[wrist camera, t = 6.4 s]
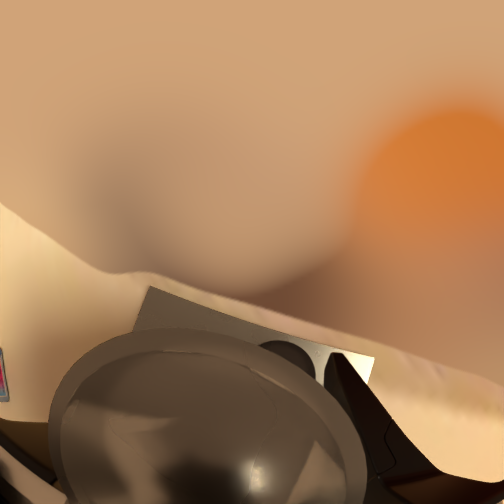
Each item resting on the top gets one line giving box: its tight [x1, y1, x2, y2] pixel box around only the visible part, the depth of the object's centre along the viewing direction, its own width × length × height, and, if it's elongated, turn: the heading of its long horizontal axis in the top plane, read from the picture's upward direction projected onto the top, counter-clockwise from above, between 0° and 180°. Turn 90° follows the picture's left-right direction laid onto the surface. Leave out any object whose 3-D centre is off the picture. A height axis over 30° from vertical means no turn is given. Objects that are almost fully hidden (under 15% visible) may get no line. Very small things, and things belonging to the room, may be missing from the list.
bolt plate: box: [133, 286, 375, 386], centre depth 13 cm, size 14×17×1 cm
